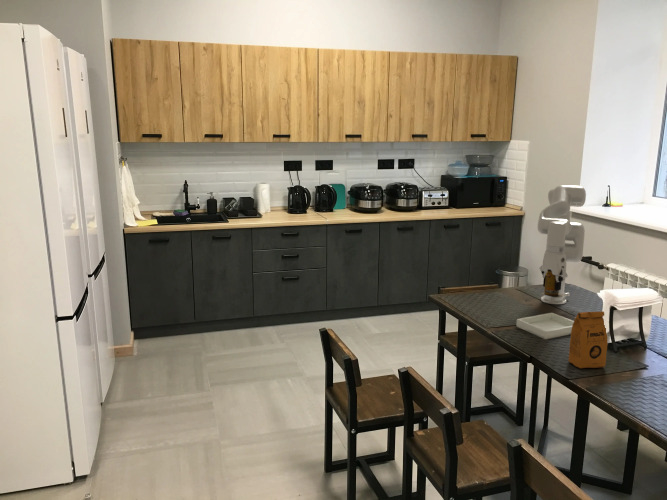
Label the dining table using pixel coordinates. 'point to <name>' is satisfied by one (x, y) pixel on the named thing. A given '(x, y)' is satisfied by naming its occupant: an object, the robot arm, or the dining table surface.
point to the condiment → (551, 285)
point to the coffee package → (588, 340)
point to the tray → (546, 325)
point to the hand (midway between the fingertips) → (551, 287)
